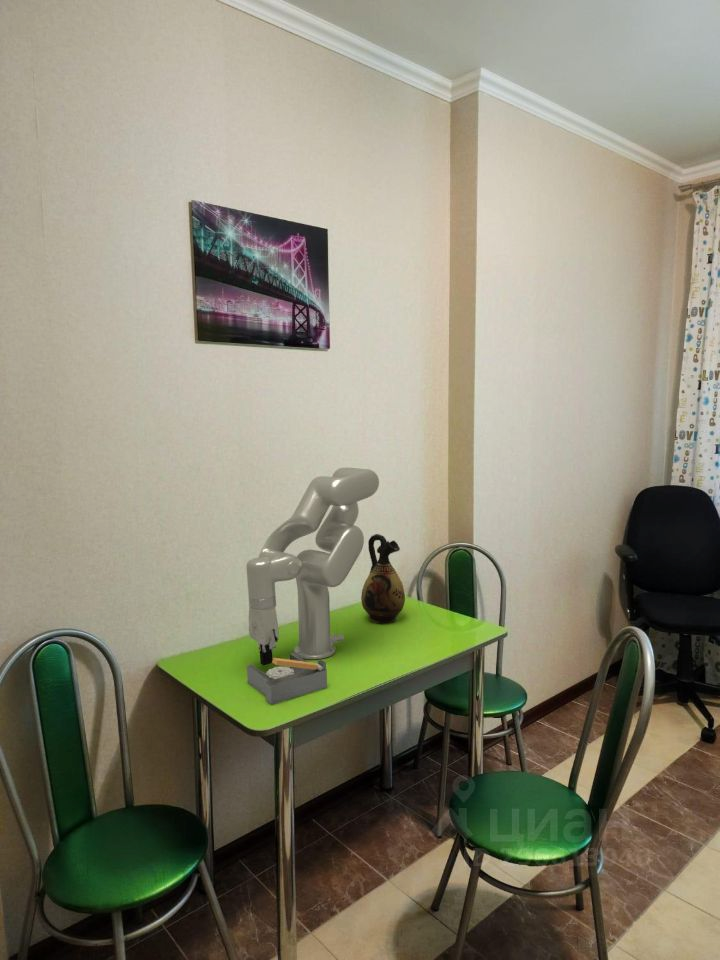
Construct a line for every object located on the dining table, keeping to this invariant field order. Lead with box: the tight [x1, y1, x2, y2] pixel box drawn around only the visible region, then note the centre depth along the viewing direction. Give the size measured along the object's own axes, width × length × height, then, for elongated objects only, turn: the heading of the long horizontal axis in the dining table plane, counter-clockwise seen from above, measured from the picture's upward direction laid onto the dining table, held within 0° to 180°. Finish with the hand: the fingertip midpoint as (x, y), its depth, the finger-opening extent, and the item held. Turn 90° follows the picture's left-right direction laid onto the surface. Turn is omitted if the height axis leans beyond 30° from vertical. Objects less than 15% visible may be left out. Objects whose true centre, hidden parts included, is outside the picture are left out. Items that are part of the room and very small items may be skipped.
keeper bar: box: [271, 657, 323, 671], centre depth 167 cm, size 14×3×1 cm, turn 125°
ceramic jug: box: [360, 533, 406, 625], centre depth 224 cm, size 17×15×30 cm
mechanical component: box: [265, 666, 294, 680], centre depth 172 cm, size 10×4×10 cm
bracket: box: [246, 652, 328, 706], centre depth 172 cm, size 17×16×7 cm
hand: (266, 663), depth 183 cm, fingers closed
